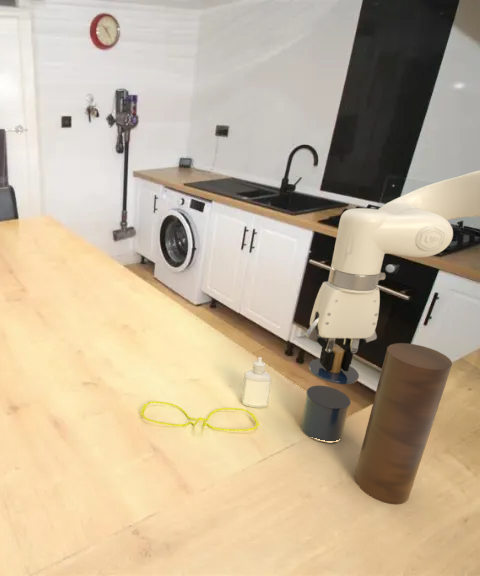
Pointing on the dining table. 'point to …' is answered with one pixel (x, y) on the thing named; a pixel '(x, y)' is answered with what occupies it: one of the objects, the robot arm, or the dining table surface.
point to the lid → (334, 370)
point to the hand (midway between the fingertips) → (333, 366)
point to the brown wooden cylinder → (401, 420)
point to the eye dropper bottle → (256, 386)
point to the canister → (325, 413)
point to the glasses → (200, 417)
